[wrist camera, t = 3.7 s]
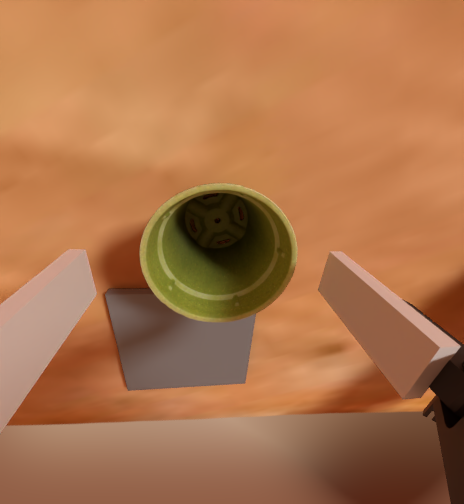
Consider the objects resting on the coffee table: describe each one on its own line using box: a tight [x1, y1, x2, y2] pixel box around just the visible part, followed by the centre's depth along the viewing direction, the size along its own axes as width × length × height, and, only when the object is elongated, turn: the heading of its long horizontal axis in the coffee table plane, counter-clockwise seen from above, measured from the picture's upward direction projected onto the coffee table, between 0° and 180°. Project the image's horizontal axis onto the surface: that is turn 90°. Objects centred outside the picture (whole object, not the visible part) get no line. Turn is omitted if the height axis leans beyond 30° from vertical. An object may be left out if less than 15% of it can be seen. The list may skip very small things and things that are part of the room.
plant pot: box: [139, 183, 297, 322], centre depth 17 cm, size 9×9×9 cm
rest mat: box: [105, 289, 256, 391], centre depth 27 cm, size 16×16×1 cm
